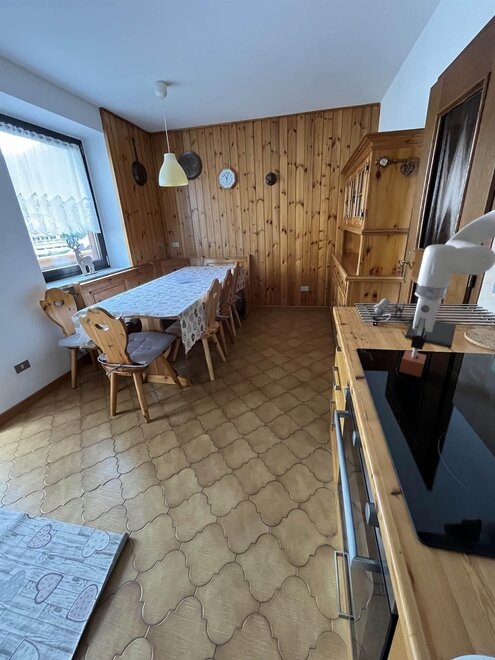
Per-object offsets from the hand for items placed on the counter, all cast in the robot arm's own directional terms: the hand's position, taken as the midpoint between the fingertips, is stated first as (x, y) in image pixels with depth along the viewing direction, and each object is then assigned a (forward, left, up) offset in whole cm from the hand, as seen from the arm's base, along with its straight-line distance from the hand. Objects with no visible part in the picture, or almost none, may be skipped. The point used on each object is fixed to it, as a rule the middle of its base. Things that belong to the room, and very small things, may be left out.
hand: (417, 346), depth 88 cm
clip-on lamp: (+17, -39, -9) cm, 43 cm away
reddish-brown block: (0, 0, -9) cm, 9 cm away
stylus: (0, 0, -8) cm, 8 cm away
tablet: (-2, -32, -9) cm, 33 cm away
